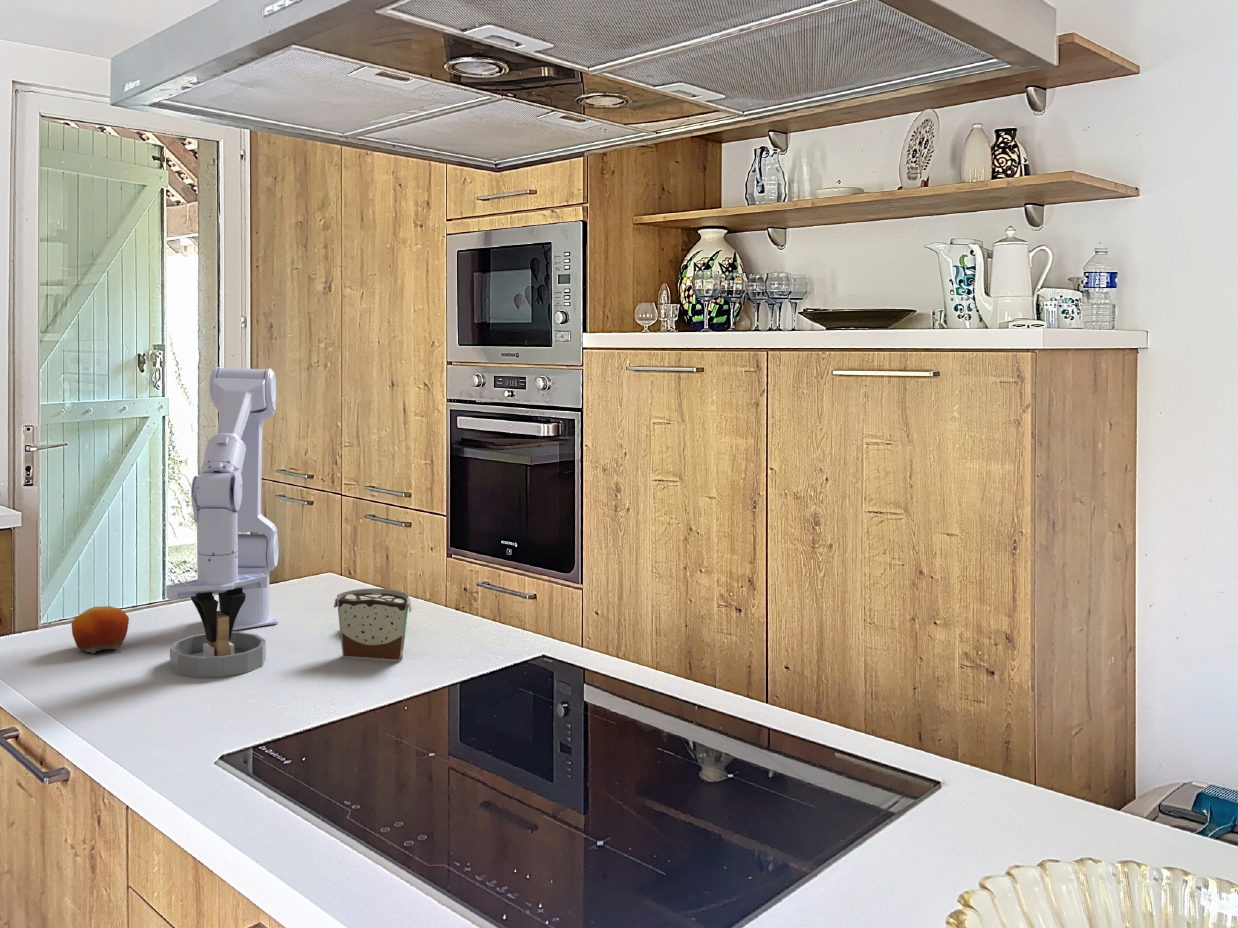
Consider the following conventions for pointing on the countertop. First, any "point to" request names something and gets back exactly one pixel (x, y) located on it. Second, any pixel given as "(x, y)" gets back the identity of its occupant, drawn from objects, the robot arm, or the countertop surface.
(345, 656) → the food container
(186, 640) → the grey faceted hollow container
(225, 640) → the tan wooden beam
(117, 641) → the fruit
